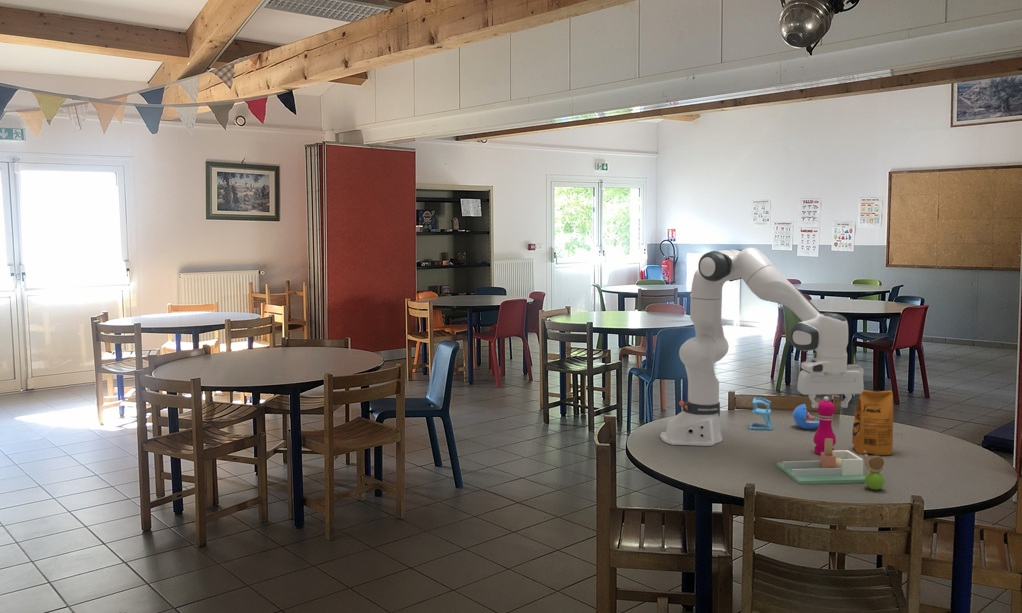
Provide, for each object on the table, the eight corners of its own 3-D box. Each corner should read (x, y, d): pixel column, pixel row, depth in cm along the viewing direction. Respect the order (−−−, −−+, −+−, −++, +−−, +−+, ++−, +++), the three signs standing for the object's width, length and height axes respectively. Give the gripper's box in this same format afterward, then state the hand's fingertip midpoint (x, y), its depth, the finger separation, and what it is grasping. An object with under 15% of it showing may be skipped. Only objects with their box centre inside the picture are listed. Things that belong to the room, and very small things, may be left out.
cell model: (826, 433, 296) (827, 408, 295) (792, 430, 300) (793, 406, 299) (823, 426, 306) (824, 402, 305) (791, 424, 309) (792, 400, 308)
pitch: (799, 484, 240) (799, 465, 239) (776, 465, 258) (777, 448, 257) (869, 482, 241) (869, 463, 240) (841, 464, 259) (842, 446, 258)
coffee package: (850, 446, 279) (852, 386, 277) (888, 448, 276) (890, 387, 273) (855, 454, 269) (857, 392, 267) (894, 457, 266) (897, 393, 264)
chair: (771, 431, 299) (771, 401, 297) (748, 429, 302) (749, 399, 301) (773, 426, 306) (774, 396, 304) (751, 424, 309) (752, 395, 308)
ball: (844, 457, 247) (849, 468, 248) (838, 454, 251) (843, 464, 252) (833, 464, 247) (838, 474, 248) (827, 460, 251) (832, 470, 252)
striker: (827, 472, 247) (828, 441, 246) (820, 467, 252) (821, 437, 251) (835, 472, 247) (836, 441, 246) (828, 467, 252) (829, 437, 251)
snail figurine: (857, 486, 237) (859, 448, 236) (877, 485, 238) (879, 447, 237) (867, 492, 232) (868, 453, 231) (887, 492, 233) (889, 452, 231)
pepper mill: (837, 456, 268) (839, 399, 265) (815, 455, 269) (817, 398, 267) (833, 450, 275) (835, 394, 272) (811, 449, 276) (813, 393, 274)
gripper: (858, 362, 249) (856, 404, 251) (796, 363, 248) (794, 405, 250) (868, 366, 243) (866, 409, 245) (804, 367, 242) (802, 410, 244)
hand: (829, 407), depth 247 cm, fingers open, 8 cm apart
